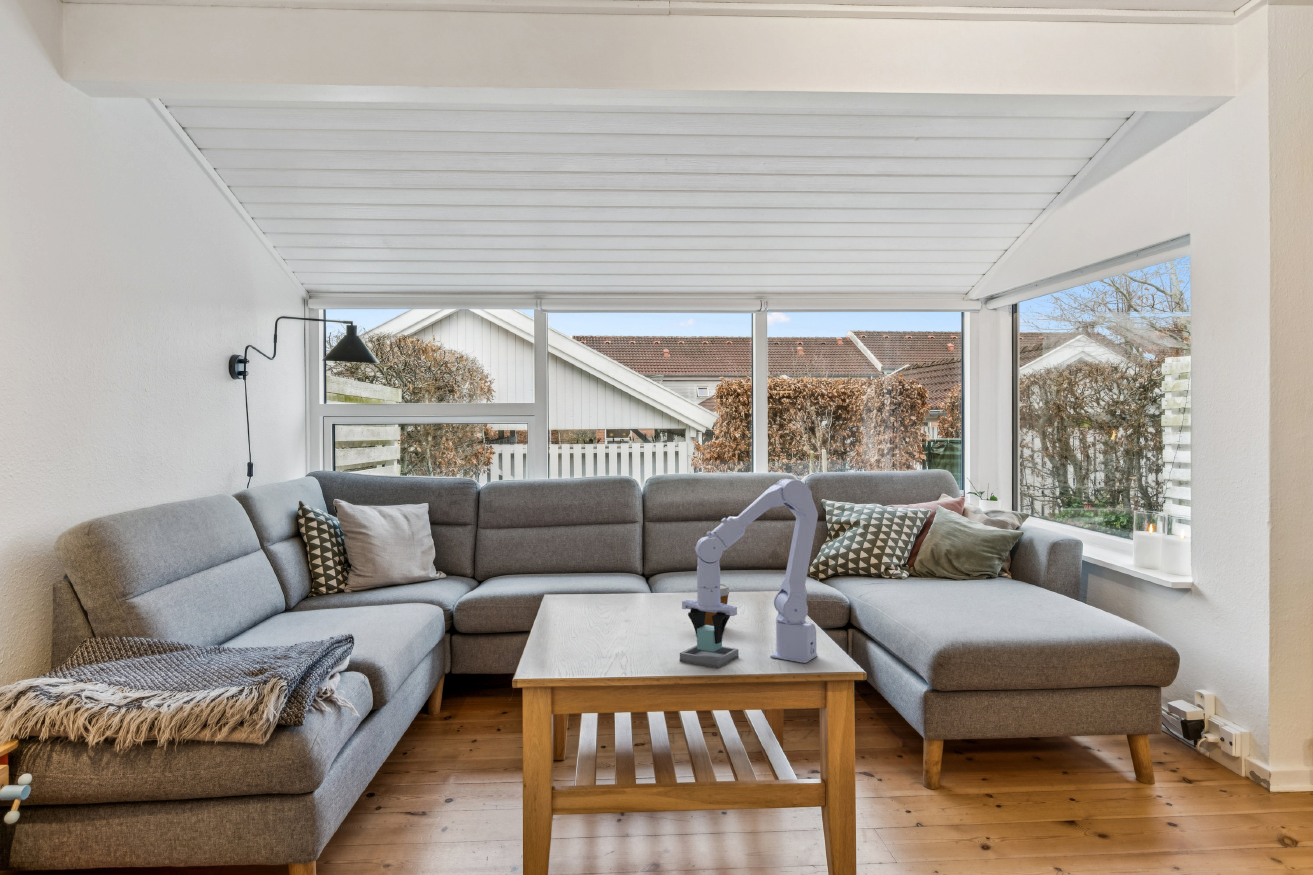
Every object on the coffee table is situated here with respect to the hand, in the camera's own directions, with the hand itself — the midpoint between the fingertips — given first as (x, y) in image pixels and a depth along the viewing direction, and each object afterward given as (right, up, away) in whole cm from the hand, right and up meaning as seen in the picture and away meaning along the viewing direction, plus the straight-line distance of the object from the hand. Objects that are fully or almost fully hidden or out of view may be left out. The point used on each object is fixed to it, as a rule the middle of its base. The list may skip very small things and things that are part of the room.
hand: (709, 641), depth 177 cm
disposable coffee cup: (+3, -5, +30) cm, 31 cm away
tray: (0, -4, 0) cm, 4 cm away
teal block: (0, -2, 0) cm, 2 cm away
